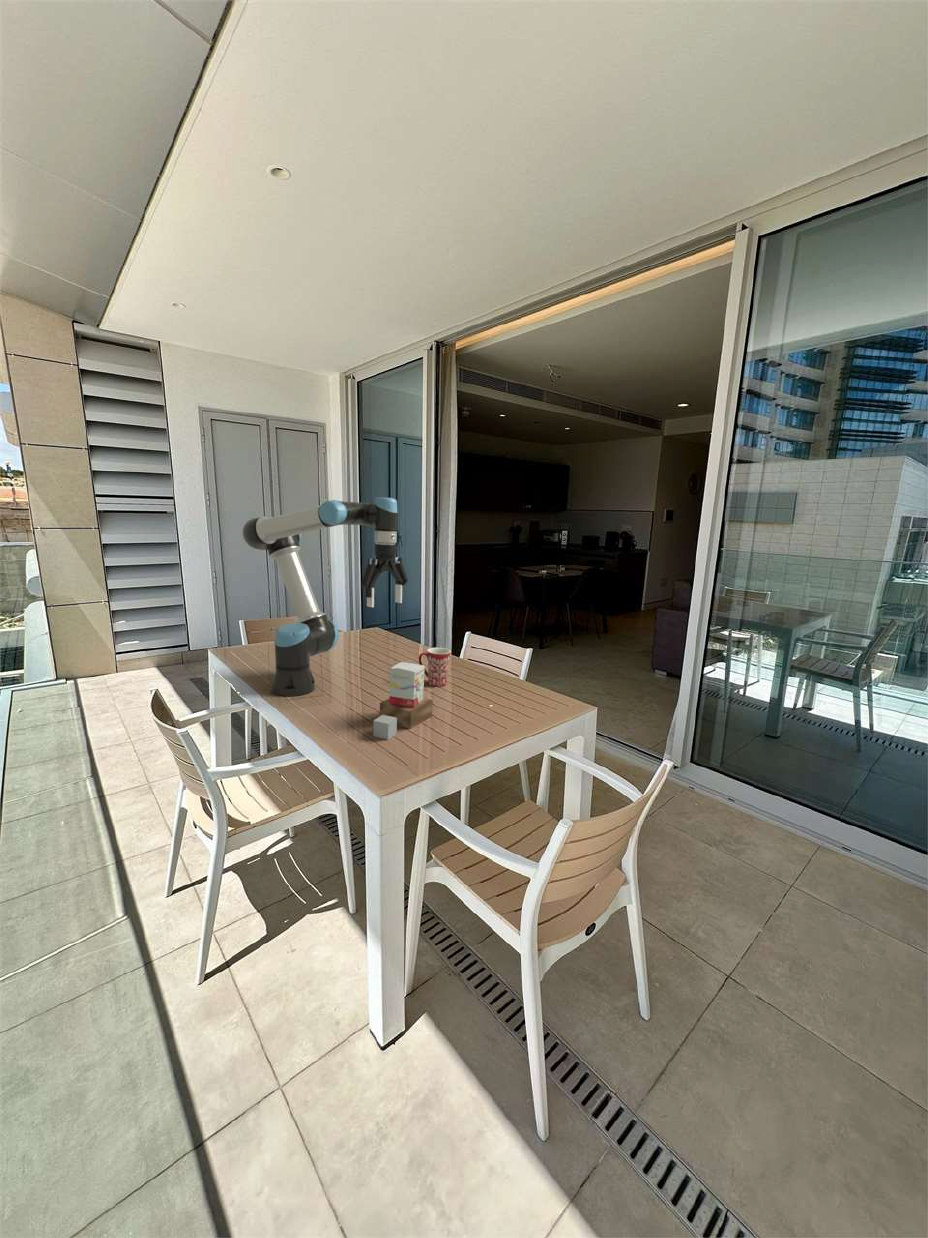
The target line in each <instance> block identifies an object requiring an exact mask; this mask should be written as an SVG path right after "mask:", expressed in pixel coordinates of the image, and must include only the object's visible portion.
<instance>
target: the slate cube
mask: <svg viewBox="0 0 928 1238" xmlns="http://www.w3.org/2000/svg"><path fill="white" fill-rule="evenodd" d="M372 723H373V728H372V730H373V732H372V736H373V737H376V738H379V739H383V740H387V741H389V740H390V739H391V738H392V737H394V736H395V735H396V734H397V733H398V730H397V729H398V725H397V718H396V717H391V716H386V715H381V716H380V715H379V716H377V718H375V719H374V720H373V722H372Z"/></svg>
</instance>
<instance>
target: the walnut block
mask: <svg viewBox="0 0 928 1238" xmlns="http://www.w3.org/2000/svg"><path fill="white" fill-rule="evenodd" d="M433 703H434V702H433V699H429V698H426V697H423V700H421V701H420V702H419V703H418V704H417V705H416V706H414V707H407V706H401V705H395V704H390V703H389V698H387V699H385V700H383V701H381V702H379V717H380V716H381V715H386V716H391V717H396V718H397V727H398V726H400V727H402V728H406V729H409V730H412V729H413V728H415V727H416V726H418V725H421V724H422V723H424V722H425V721H427V720H429V719H430V718H432V717H433Z"/></svg>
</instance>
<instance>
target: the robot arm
mask: <svg viewBox="0 0 928 1238" xmlns="http://www.w3.org/2000/svg"><path fill="white" fill-rule="evenodd" d="M398 513H399V512H398V500H397V499H395V498H393V497H380V496H379V497H378V496H377V497H375V499H374V502H357V501H356V502H355V501H344V500H343V501H341V500H334V499H333V500H332V499H331V500H326V501H324V502H323V503H322V504H319V505H316V506H311V507H308V508H304V509H299V510H297V511H296V510H295V511H293V512H292V511H291V512H289V513H288V512H287V513H284V514H281V515H276V516H272V517H269V516H261V517H255V518H251V519H249V520H247V521H246V522H245V524H244V525H243V528H242V531H241V532H242V538H243V540H244V541H245V543H246V544H247V545H248V546H249V547H250V548H253V549H254V550H261V551H266V550H267V553H268V555H269V558H270V559H272V560H274V561H275V562H276V564H277V568H278V570H279V572H280V574H281V575H280V576H281V577H282V581H283V582H284V586H285V587H286V591H287V594H288V595H289V598H290V601H291V604H292V607H293V609H294V611H295V614H296V617H297V621H296V622H294V623H287V624H284V625H281V626H280V627H278V628H277V629H276V630H275V632H274V642H273V643H274V654H275V655H274V656H275V657H274V659H275V670H274V671H275V672H274V674H273V678H272V681H271V683H270V689H271V690H270V691H271V693H273V694H275V695H276V696H277V695H278V696H282V697H297V696H303V695H306V694H310V693H312V692H313V691H314V690H315V689H316V681H315V678H314V675H313V673H312V670H311V665H310V658H311V657H313V656H317V655H319V654H322V653H323V654H324V653H326V652H328V651H330V650H332V649H334V648H335V647H336V645H337V644H338V641H339V637H340V634H339V633H340V632H339V629H338V626H337V625H336V623H335V622H333V621H332V620H331V619H330V620H329V619H328V616H327V614H326V613H324V612H322V611H321V609H320V608H319V604H318V601H317V599H316V597H315V594H314V592H313V588H312V587H311V584H310V581H309V578H308V576H307V573H306V570H305V568H304V565H303V563H302V560H301V558H300V555H299V552H300V550H301V546H300V544H301V542H302V534H305V533H309V532H313V531H318V530H321V529H327V528H331V527H332V528H333V527H336V526H343V525H344V526H346V525H348V526H352V525H353V526H374V543H375V544H374V555H375V558H371V557H369V558H368V559H367V566H366V570H365V571H364V574H363V577H362V579H361V582H360V586H361V587H364V588H365V597H366V607H368V608H374V607H375V587H374V585H375V583H376V582H377V580H378V578H379V576H380V575H381V574H382V573H383V572H387V571H388V572H390V574H391V576H392V577H393V579H394V580H395V582H396V584H395V586H394V587H395V588H394V589H395V591H394V598H395V599H394V602H395V603H398V604H403V593H404V586H405V585H406V583H408V581H409V580H408V577H407V574H406V571H405V567H404V565H403V560H402V559H403V558H402V557H400V556H397V552H398V551H397V542H398V541H397V539H398V534H397V533H398V528H397V526H398V524H397V523H398Z"/></svg>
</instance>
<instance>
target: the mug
mask: <svg viewBox="0 0 928 1238" xmlns="http://www.w3.org/2000/svg"><path fill="white" fill-rule="evenodd" d="M423 656H426V659H427V670H426V669H424V676H425V677H426V678H427V684H428V685H429V686H432V687H437V688H441V687H445V686H447V684H448V676H449V668H450V667H449V666H450V657H451V650H450V649H448V648H444V647H431V648H428V649H427V651H426V652H421V653H420V654H419V655H418V665H424V664H423V663H422V662H423V661H422V657H423Z"/></svg>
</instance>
